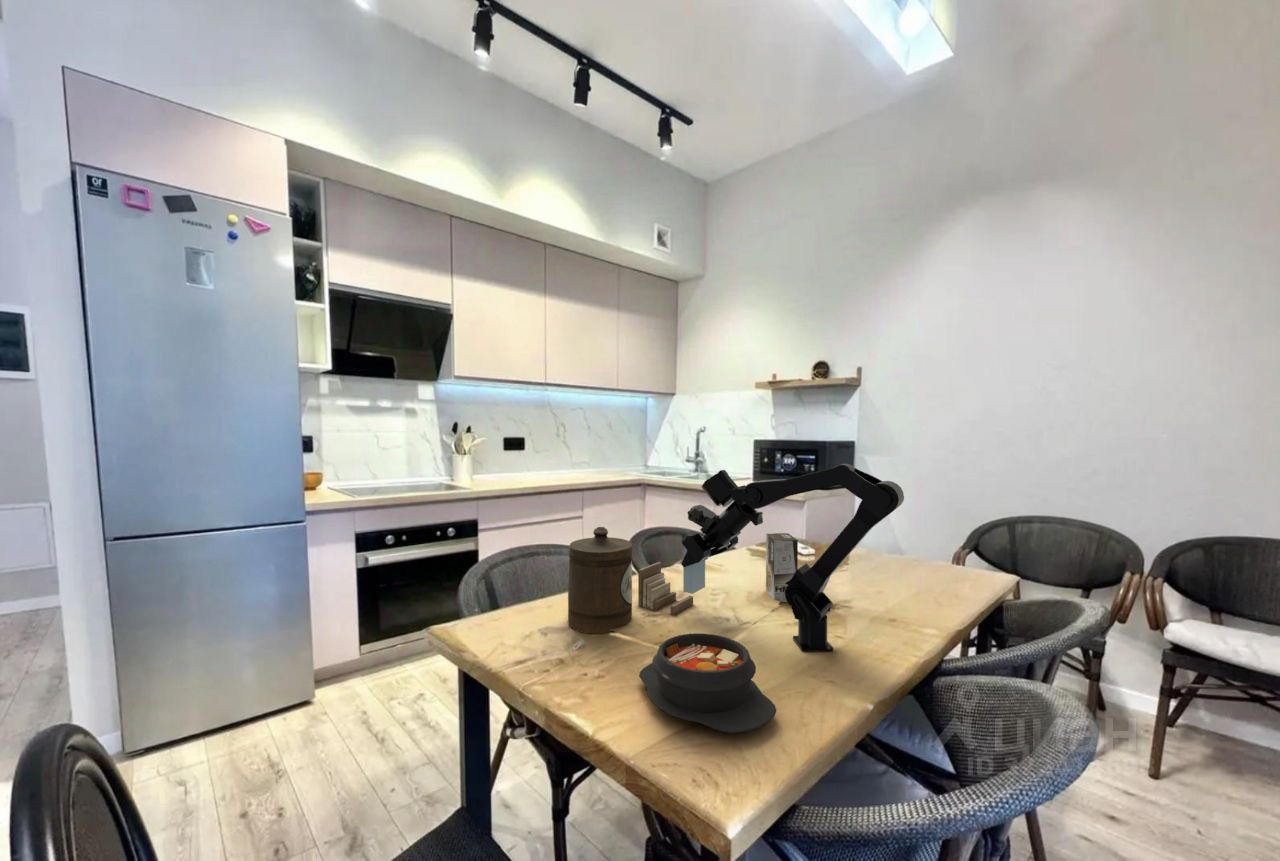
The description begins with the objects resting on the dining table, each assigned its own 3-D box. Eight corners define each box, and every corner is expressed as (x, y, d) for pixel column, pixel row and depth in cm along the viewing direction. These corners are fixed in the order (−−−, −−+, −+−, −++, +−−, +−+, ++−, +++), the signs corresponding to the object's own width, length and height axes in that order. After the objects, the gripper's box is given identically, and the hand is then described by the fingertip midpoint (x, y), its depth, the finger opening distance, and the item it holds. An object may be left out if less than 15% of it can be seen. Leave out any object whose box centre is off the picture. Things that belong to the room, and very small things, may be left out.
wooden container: (641, 628, 114) (641, 530, 113) (577, 638, 108) (577, 536, 108) (619, 606, 127) (619, 519, 127) (561, 614, 122) (561, 523, 122)
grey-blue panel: (705, 587, 123) (705, 540, 123) (692, 593, 118) (692, 544, 118) (696, 585, 124) (696, 538, 124) (683, 591, 120) (683, 543, 120)
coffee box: (798, 602, 130) (798, 540, 130) (773, 602, 130) (773, 539, 130) (788, 591, 139) (789, 532, 139) (765, 590, 140) (765, 532, 139)
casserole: (614, 687, 88) (614, 639, 88) (693, 658, 99) (693, 615, 99) (718, 764, 68) (718, 702, 68) (802, 716, 79) (802, 663, 79)
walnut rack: (694, 607, 126) (694, 568, 126) (675, 619, 119) (675, 577, 119) (658, 599, 133) (658, 561, 133) (638, 609, 126) (638, 569, 126)
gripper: (726, 490, 126) (688, 529, 133) (688, 499, 111) (647, 543, 118) (756, 525, 122) (715, 564, 128) (721, 540, 107) (676, 582, 113)
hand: (689, 562), depth 122 cm, fingers closed on grey-blue panel, 6 cm apart
